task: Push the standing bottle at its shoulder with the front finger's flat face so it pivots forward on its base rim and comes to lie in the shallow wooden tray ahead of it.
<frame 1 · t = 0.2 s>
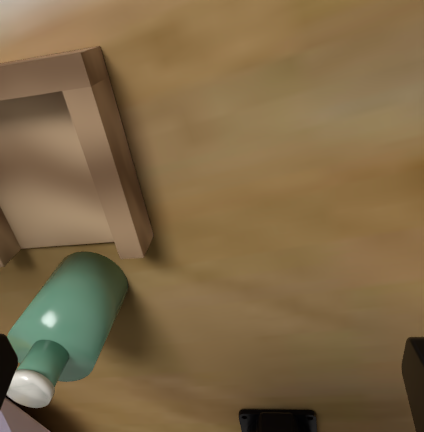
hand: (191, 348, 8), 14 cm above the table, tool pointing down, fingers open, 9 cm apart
bottle: (93, 280, 27), on the table
shallow wooden tray: (49, 174, 23), on the table
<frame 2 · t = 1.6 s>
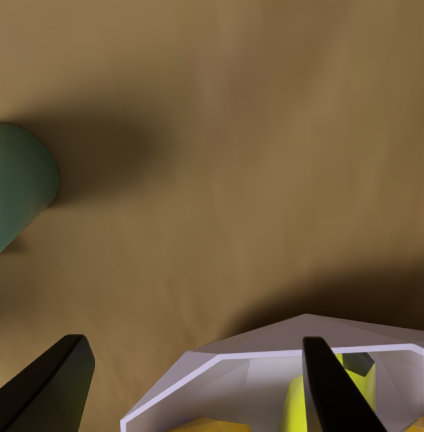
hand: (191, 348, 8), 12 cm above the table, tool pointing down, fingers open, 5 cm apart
fruit bowl: (310, 412, 29), on the table
bottle: (13, 169, 21), on the table
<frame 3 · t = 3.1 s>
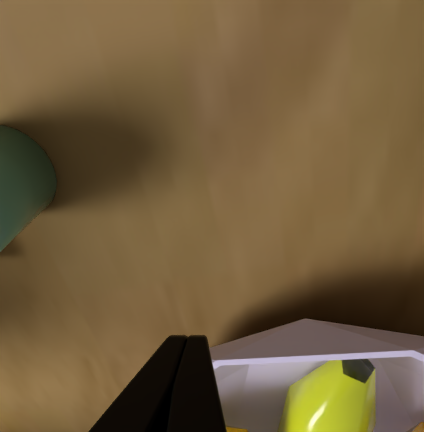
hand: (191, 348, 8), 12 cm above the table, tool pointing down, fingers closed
fruit bowl: (309, 416, 28), on the table
bottle: (9, 172, 20), on the table
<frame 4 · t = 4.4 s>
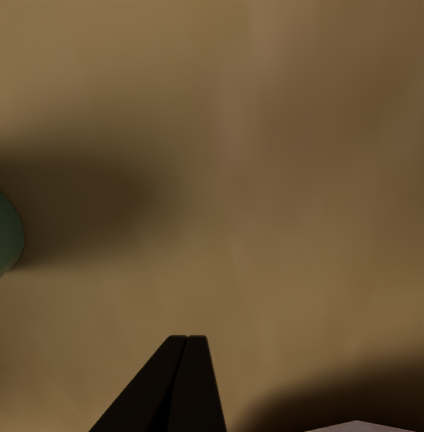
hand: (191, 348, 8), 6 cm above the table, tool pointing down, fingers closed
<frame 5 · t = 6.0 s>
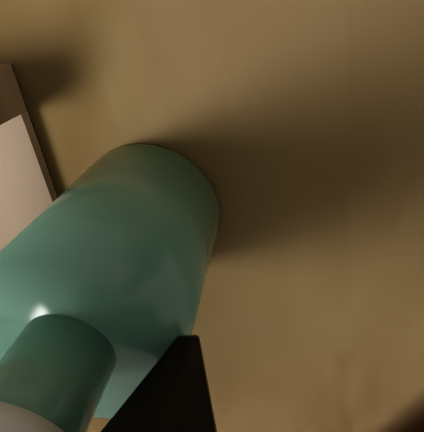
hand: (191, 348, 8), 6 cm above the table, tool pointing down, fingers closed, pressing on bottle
bottle: (150, 211, 14), on the table, touching gripper
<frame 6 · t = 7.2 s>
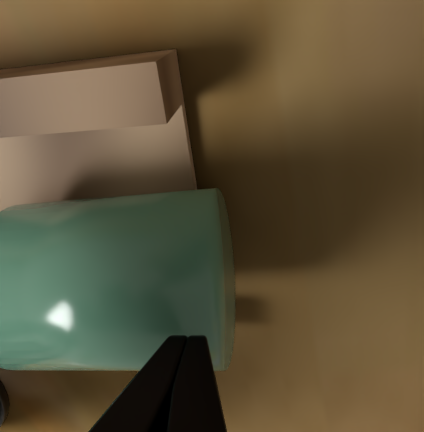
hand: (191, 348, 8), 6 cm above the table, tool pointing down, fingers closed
bottle: (223, 275, 11), point 3 cm above the table, tilted 90°, touching shallow wooden tray
shallow wooden tray: (72, 218, 14), on the table
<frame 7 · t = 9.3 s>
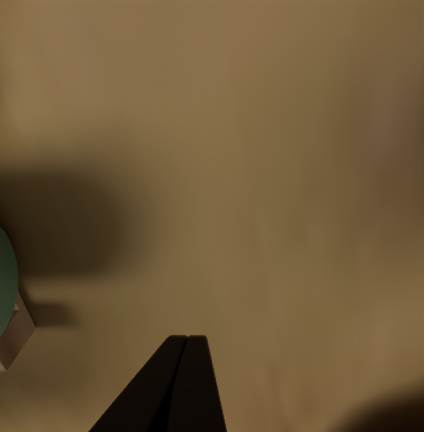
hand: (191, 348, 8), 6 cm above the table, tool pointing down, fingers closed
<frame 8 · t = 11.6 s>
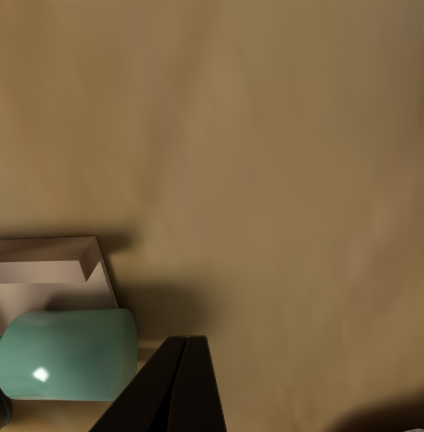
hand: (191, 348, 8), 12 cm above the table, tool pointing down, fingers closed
bottle: (122, 353, 23), point 3 cm above the table, tilted 90°, touching shallow wooden tray
shallow wooden tray: (48, 306, 26), on the table
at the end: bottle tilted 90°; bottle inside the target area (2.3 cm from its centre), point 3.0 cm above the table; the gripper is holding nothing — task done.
